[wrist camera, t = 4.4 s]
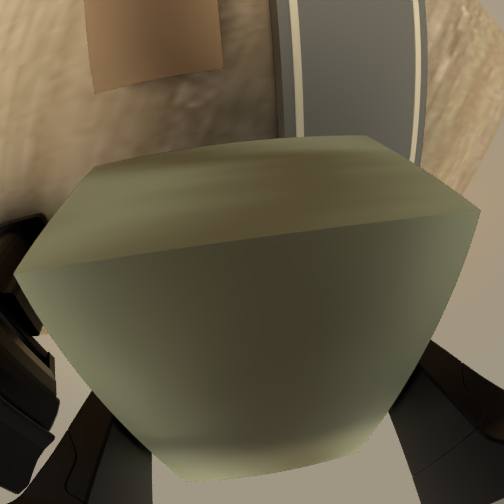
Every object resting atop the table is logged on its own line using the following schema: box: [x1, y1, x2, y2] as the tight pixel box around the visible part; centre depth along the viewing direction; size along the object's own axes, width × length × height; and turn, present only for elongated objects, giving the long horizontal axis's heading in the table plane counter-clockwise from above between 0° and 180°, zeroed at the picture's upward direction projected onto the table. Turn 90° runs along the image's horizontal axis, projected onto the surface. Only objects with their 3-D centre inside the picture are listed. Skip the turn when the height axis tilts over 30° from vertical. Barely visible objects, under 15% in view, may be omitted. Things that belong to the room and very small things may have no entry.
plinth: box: [269, 0, 427, 167], centre depth 14 cm, size 9×13×2 cm
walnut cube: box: [84, 0, 224, 94], centre depth 10 cm, size 5×5×5 cm
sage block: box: [14, 135, 481, 482], centre depth 8 cm, size 6×10×4 cm, turn 4°
